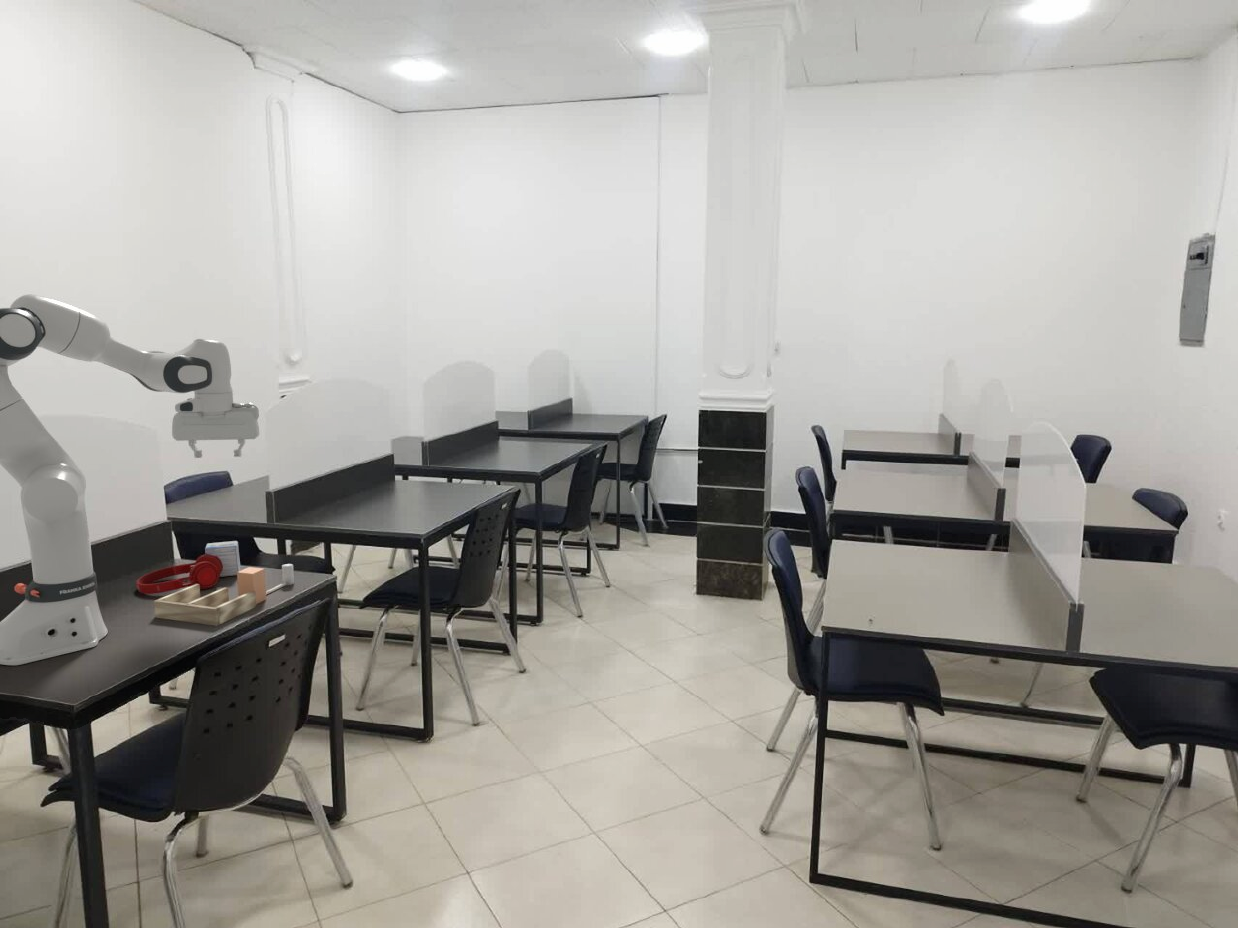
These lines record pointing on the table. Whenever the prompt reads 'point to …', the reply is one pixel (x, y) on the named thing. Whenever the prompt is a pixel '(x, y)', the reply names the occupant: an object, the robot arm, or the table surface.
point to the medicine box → (226, 556)
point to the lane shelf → (203, 606)
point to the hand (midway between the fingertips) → (218, 457)
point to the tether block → (261, 581)
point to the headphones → (200, 574)
